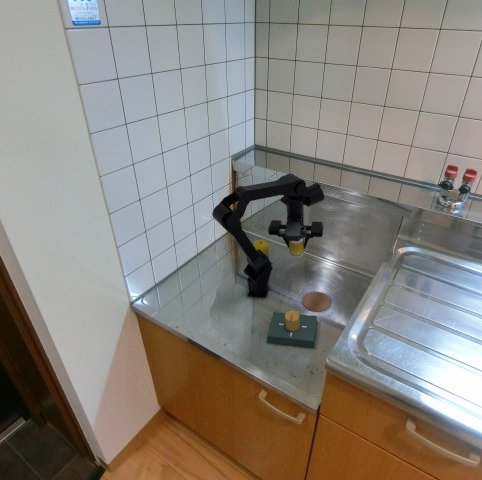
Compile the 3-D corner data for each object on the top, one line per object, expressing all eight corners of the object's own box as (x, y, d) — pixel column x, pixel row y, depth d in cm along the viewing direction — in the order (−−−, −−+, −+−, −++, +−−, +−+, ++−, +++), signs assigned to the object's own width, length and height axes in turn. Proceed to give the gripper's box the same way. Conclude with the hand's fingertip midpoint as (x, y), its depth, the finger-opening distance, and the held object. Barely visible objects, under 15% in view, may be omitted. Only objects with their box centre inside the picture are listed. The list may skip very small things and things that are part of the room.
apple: (265, 262, 147) (263, 246, 142) (251, 258, 150) (249, 242, 145) (272, 253, 151) (271, 237, 146) (258, 249, 154) (257, 234, 149)
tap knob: (286, 319, 118) (286, 308, 115) (300, 320, 117) (300, 310, 114) (284, 330, 114) (283, 319, 112) (298, 331, 113) (298, 321, 110)
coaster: (301, 310, 124) (301, 309, 124) (304, 291, 131) (304, 290, 131) (328, 313, 122) (328, 312, 122) (330, 294, 129) (330, 292, 129)
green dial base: (268, 342, 115) (267, 335, 113) (274, 318, 123) (273, 311, 121) (313, 347, 112) (313, 340, 110) (316, 322, 120) (316, 315, 118)
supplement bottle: (303, 258, 133) (303, 235, 127) (288, 257, 134) (287, 235, 128) (304, 248, 137) (304, 227, 131) (290, 248, 138) (289, 226, 132)
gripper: (263, 222, 121) (267, 260, 130) (321, 225, 116) (321, 263, 125) (269, 205, 129) (272, 241, 138) (323, 206, 125) (323, 243, 134)
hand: (296, 247), depth 134 cm, fingers closed on supplement bottle, 5 cm apart
